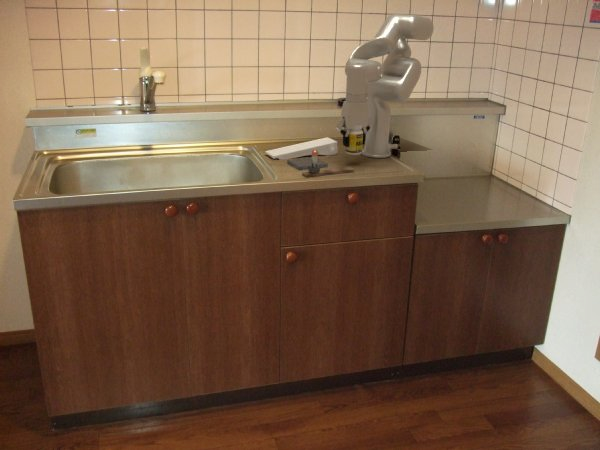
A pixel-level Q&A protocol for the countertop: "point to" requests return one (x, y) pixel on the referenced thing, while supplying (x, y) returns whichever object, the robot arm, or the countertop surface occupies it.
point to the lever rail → (328, 172)
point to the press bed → (305, 163)
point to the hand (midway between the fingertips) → (354, 144)
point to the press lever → (314, 163)
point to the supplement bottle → (355, 141)
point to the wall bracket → (305, 149)
